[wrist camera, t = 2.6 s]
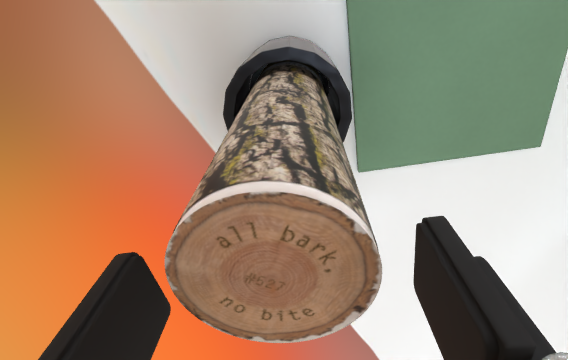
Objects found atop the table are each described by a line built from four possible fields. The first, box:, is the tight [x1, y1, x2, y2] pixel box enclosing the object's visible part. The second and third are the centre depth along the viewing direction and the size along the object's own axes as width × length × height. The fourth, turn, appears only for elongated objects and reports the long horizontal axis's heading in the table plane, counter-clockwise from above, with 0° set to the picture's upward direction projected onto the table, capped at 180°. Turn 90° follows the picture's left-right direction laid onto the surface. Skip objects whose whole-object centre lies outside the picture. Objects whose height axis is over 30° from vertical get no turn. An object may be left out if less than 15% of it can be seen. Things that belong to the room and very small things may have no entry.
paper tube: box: [165, 60, 382, 343], centre depth 20 cm, size 7×7×25 cm
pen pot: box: [223, 36, 352, 143], centre depth 27 cm, size 10×10×9 cm
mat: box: [346, 0, 568, 172], centre depth 29 cm, size 20×20×1 cm
